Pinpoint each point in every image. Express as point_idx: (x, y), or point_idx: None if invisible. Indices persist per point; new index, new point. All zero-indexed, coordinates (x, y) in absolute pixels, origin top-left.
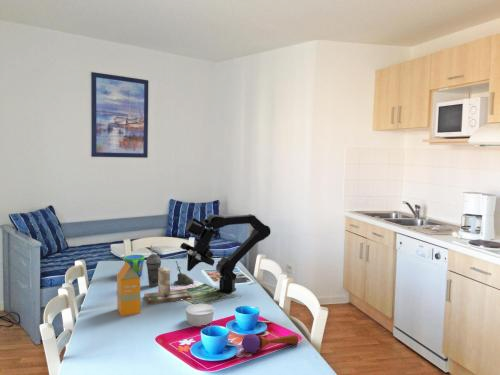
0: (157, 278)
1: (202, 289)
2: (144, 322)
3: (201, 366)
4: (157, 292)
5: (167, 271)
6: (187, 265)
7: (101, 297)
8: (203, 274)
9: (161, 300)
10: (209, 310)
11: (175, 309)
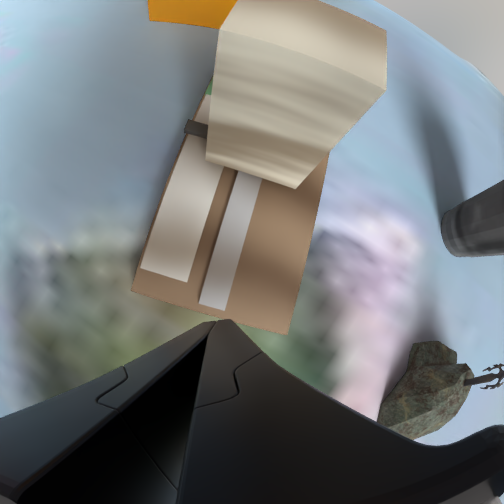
0: (471, 231)
1: None
2: (70, 17)
3: None
4: None
5: (229, 18)
6: (240, 335)
7: (393, 29)
8: None
9: (196, 111)
10: None
11: (65, 134)
